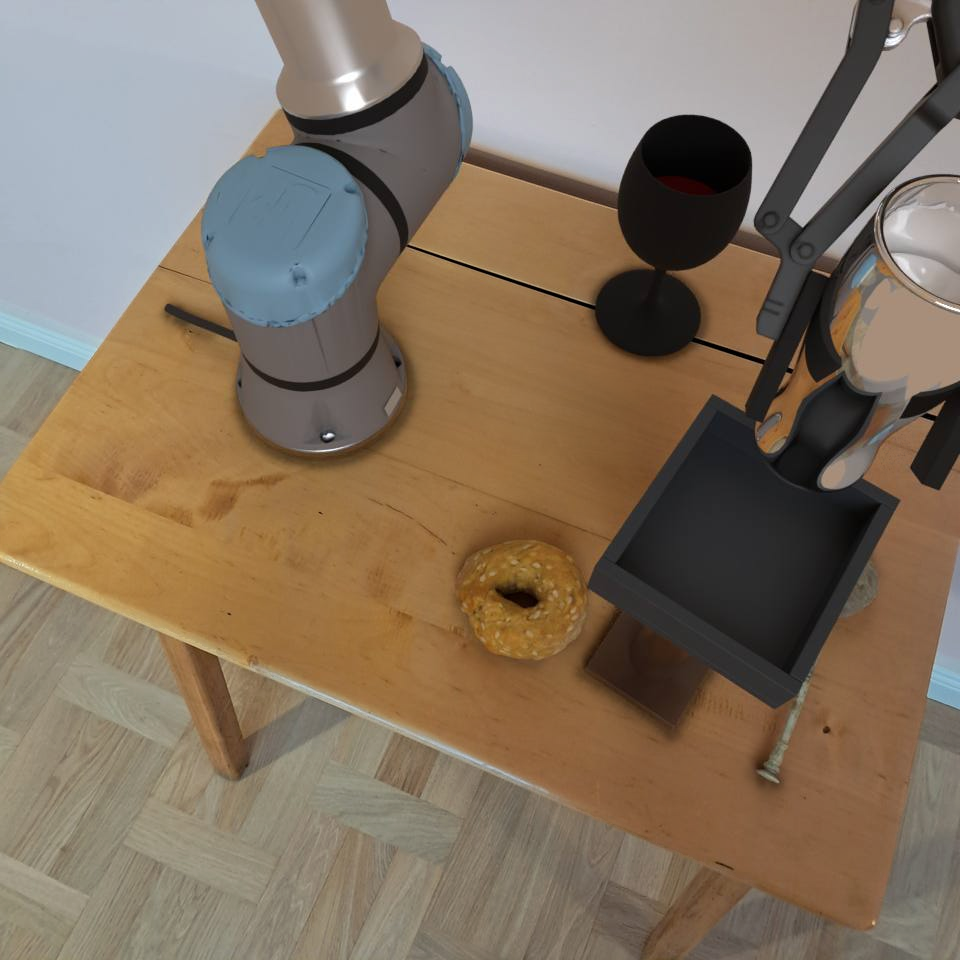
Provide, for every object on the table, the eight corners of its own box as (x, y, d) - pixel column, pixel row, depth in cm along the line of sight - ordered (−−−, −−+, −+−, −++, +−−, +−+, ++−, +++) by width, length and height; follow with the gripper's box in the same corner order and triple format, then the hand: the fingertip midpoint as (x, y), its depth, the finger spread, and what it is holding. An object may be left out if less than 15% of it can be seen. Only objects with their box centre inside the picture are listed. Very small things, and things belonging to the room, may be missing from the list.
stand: (583, 671, 69) (636, 570, 49) (634, 593, 72) (704, 467, 52) (671, 730, 67) (765, 652, 47) (719, 647, 70) (828, 539, 50)
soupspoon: (880, 562, 75) (806, 530, 76) (897, 545, 72) (819, 512, 73) (803, 801, 65) (720, 760, 67) (819, 793, 62) (731, 750, 64)
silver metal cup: (880, 514, 43) (1077, 335, 29) (740, 488, 43) (869, 301, 30) (879, 395, 46) (1056, 184, 32) (747, 373, 46) (868, 155, 33)
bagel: (495, 523, 75) (498, 499, 70) (607, 591, 72) (616, 571, 68) (429, 616, 71) (428, 597, 67) (544, 691, 68) (550, 676, 64)
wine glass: (699, 275, 87) (760, 111, 69) (702, 361, 82) (767, 210, 64) (595, 267, 87) (628, 101, 69) (592, 353, 83) (627, 199, 65)
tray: (585, 587, 48) (594, 566, 45) (698, 421, 53) (712, 393, 50) (774, 710, 45) (796, 696, 42) (875, 523, 50) (901, 499, 47)
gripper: (1366, -35, 32) (1038, 507, 40) (842, -175, 35) (633, 354, 43) (1540, -107, 25) (1102, 565, 33) (869, -274, 28) (614, 378, 36)
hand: (837, 445), depth 38 cm, fingers closed on silver metal cup, 7 cm apart
